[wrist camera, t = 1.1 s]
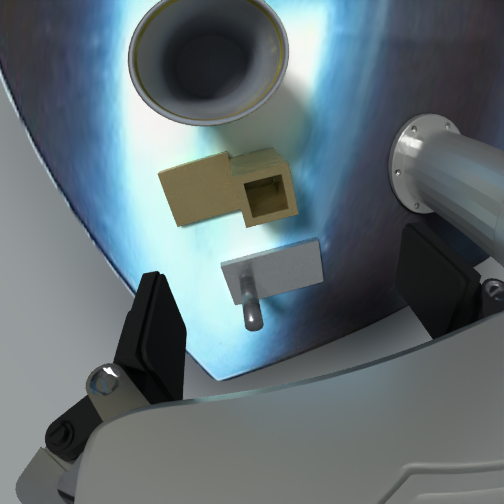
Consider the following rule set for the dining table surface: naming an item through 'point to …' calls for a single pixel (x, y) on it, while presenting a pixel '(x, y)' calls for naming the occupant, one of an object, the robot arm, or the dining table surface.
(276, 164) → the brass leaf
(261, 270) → the steel leaf with pin
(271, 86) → the ceramic cup
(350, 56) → the dining table surface
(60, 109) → the dining table surface
